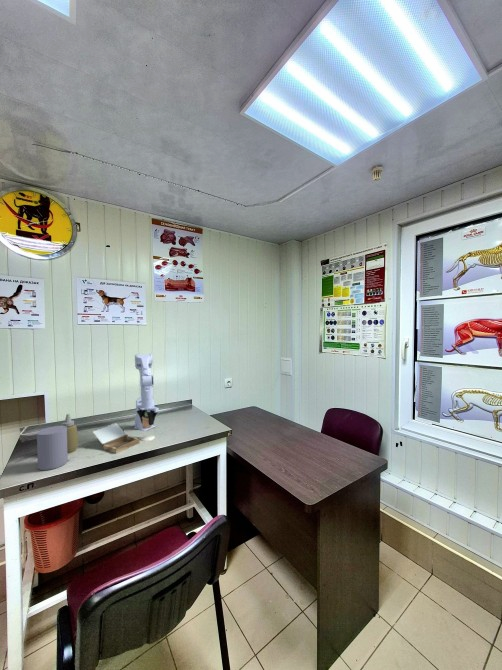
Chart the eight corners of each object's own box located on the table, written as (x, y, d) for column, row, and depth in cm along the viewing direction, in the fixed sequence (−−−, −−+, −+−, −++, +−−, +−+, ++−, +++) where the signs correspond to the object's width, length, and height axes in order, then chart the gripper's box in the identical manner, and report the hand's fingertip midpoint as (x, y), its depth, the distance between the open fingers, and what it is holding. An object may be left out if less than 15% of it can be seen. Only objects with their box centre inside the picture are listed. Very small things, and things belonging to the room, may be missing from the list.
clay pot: (147, 423, 144) (148, 409, 144) (154, 426, 141) (155, 411, 141) (139, 427, 139) (139, 411, 139) (146, 429, 137) (146, 414, 136)
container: (36, 473, 107) (36, 436, 107) (38, 463, 115) (37, 429, 115) (67, 465, 113) (67, 430, 113) (67, 456, 121) (66, 424, 121)
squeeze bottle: (63, 457, 121) (62, 418, 120) (55, 453, 125) (54, 415, 125) (82, 450, 127) (81, 413, 127) (73, 446, 132) (73, 410, 131)
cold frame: (97, 448, 129) (97, 438, 129) (123, 438, 142) (123, 429, 142) (116, 454, 123) (116, 444, 123) (141, 442, 136) (141, 433, 135)
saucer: (137, 440, 139) (137, 439, 139) (148, 435, 145) (148, 434, 145) (147, 442, 136) (147, 441, 136) (157, 437, 142) (157, 436, 142)
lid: (102, 443, 128) (102, 444, 128) (126, 434, 139) (126, 435, 139) (91, 430, 132) (91, 431, 132) (115, 422, 143) (115, 423, 143)
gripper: (131, 398, 140) (131, 424, 140) (150, 401, 133) (151, 428, 133) (142, 395, 146) (142, 420, 146) (161, 398, 139) (161, 424, 140)
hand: (147, 423), depth 140 cm, fingers closed on clay pot, 5 cm apart
